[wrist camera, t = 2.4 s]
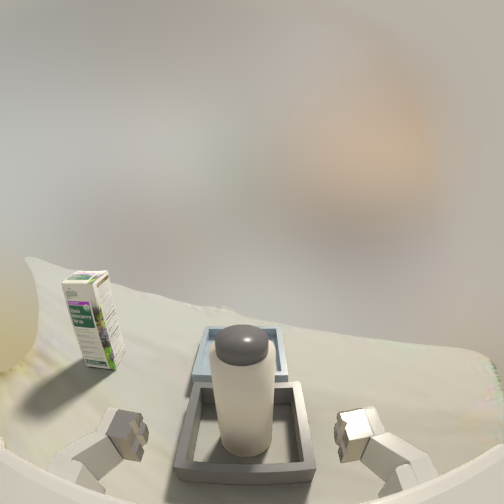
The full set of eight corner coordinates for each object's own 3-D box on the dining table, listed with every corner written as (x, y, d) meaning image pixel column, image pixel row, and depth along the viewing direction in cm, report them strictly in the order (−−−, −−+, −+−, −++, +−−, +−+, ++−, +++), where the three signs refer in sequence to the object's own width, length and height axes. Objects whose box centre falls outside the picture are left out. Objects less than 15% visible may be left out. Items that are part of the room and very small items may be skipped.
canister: (219, 456, 24) (202, 358, 20) (223, 419, 29) (211, 321, 25) (272, 456, 24) (278, 358, 20) (270, 420, 29) (273, 320, 25)
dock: (179, 479, 20) (173, 466, 19) (197, 397, 33) (194, 381, 32) (311, 481, 20) (316, 468, 19) (298, 397, 33) (300, 381, 32)
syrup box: (85, 367, 36) (59, 282, 32) (98, 347, 42) (78, 268, 38) (116, 371, 36) (91, 283, 32) (126, 349, 42) (108, 268, 38)
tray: (193, 386, 35) (191, 374, 34) (206, 337, 47) (205, 326, 46) (287, 387, 35) (288, 374, 34) (280, 337, 47) (280, 325, 46)
